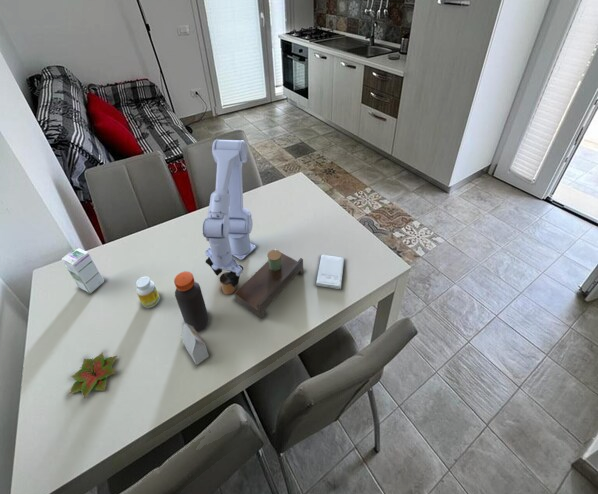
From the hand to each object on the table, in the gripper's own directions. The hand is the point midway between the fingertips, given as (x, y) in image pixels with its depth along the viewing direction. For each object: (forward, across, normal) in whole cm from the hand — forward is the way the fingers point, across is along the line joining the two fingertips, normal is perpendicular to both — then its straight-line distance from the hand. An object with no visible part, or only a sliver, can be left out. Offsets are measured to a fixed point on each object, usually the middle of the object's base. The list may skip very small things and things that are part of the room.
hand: (227, 278), depth 107 cm
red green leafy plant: (+5, -9, -40) cm, 41 cm away
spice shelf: (+5, +11, +9) cm, 15 cm away
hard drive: (+5, +24, +25) cm, 35 cm away
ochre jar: (+5, 0, 0) cm, 5 cm away
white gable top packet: (+5, +8, -20) cm, 22 cm away
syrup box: (+5, -39, -26) cm, 47 cm away
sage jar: (+1, +8, +14) cm, 16 cm away
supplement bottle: (+5, -17, -18) cm, 25 cm away
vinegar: (+5, +1, -14) cm, 15 cm away
